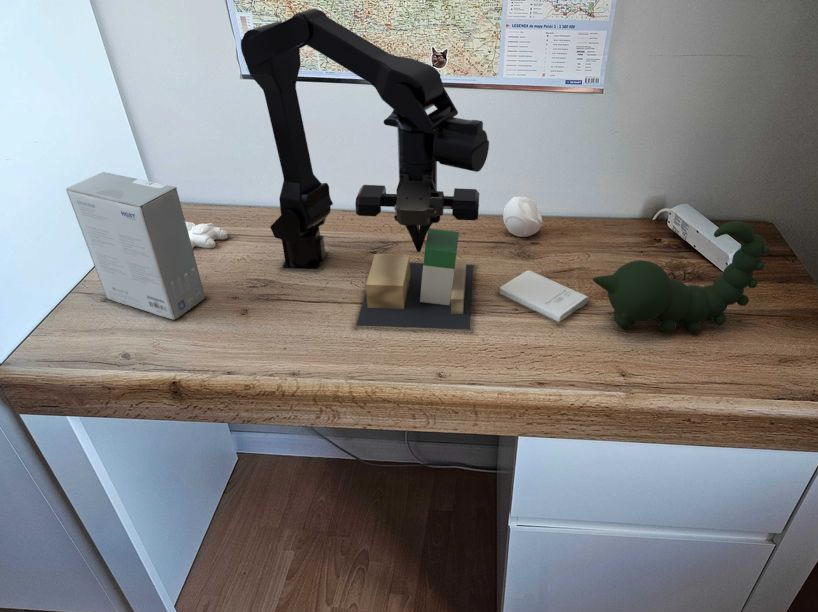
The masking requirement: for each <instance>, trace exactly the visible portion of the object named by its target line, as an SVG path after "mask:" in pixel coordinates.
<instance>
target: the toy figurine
mask: <svg viewBox="0 0 818 612" xmlns="http://www.w3.org/2000/svg"><path fill="white" fill-rule="evenodd" d="M724 235H731V236H733V237H735V238H736V239H737V240H739V241H740V242H741V243H740V248H738V249H737V250H736V251H735V252H734V254H733V255H732V258H731V259H732V260H731V263H729V264H728V265H726V267H725V268H724V269H723V272H722V275H720V276H719V277H717V278H716V279H715V280H714V282H713V283H712V284H709V285H705V286H700V285H696V284H689V285H688V284H687V285H686V283H684V282H682V281H680V280H678V279H675V278H670V276H669V274H668V273H667V272H666V271H665V269H663V268H662V267H661V266H660V265H658V264H657V263H654V262H652V261H649V260H643V259H639V260H638V259H637V260H632V261H629V262H627V263H625V264H622V265H621V266H620V267H619V268H617V269H616V270H615V271H614V273H613V274H607V275H600V276H594V277H593V278H592V282H594V283H595V284H596V285H598V286H599V287H601V288H602V289H603V290H605V291H606V292H607V296H608V301H609V304H610V306H611V308H612V309H613V310H614V311H613V319H614V321H615V323H616V325H617V326H618V327H619V328H620V329H623V330H627V329H631V328H632V327H633V326H634V325H635V324H636V322H637V323H645V322H649V321H652V320H654V319H655V320H656V321H658V327H659V329H660V330H661V331H662V332H664V333H672V332H673V331H674V330H676V328H677V322H679V323H683V324H686V327H687V330H688V332H689V333H692V334H696V333H698V332H700V330H701V327H702V324H701V322H703V321H705V320H706V319H711V318H712V323H714V325H717V326H723V325H725V324H726V322H727V315H726V314H725V313H724V312H725V311H726V310H727V308H728V306H731V305H734V304H736V303H737V305H738V306H741V307H746V306H747V305H748V304H749V302H750V299H749V297H748V295H746V294H744V292H745V288H747V287H748V288H750V289H755V288H756V287H757V286H758V284H759V281H758V279H756V278H754V272H755V271H762V270H764V269H765V267H766V266H765V265H766V264H765V262H764V261H763V260H762V257H761V256H763V255H767V254H770V251H771V246H769V245H767V241H766V239H765V237H763V236H762V235H760V234H757V233H755V231H754V228H753V226H752V225H751V224H749V223H747V222H745V221H741V220H732V221H728V222H726V223H724V224H722V225H720V227H718V228H717V229H716V230H715V231H714V233H713V237H714V238H719V237H721V236H724Z"/></svg>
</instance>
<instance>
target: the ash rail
mask: <svg viewBox="0 0 818 612" xmlns="http://www.w3.org/2000/svg"><path fill="white" fill-rule="evenodd" d="M466 265H467V261H466V260H465V261H464V260H463V261H462V260H456V261H455V269H454V277H453V285H452V293H451V314H462V315H463V310H464V297H465V284H466Z"/></svg>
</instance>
